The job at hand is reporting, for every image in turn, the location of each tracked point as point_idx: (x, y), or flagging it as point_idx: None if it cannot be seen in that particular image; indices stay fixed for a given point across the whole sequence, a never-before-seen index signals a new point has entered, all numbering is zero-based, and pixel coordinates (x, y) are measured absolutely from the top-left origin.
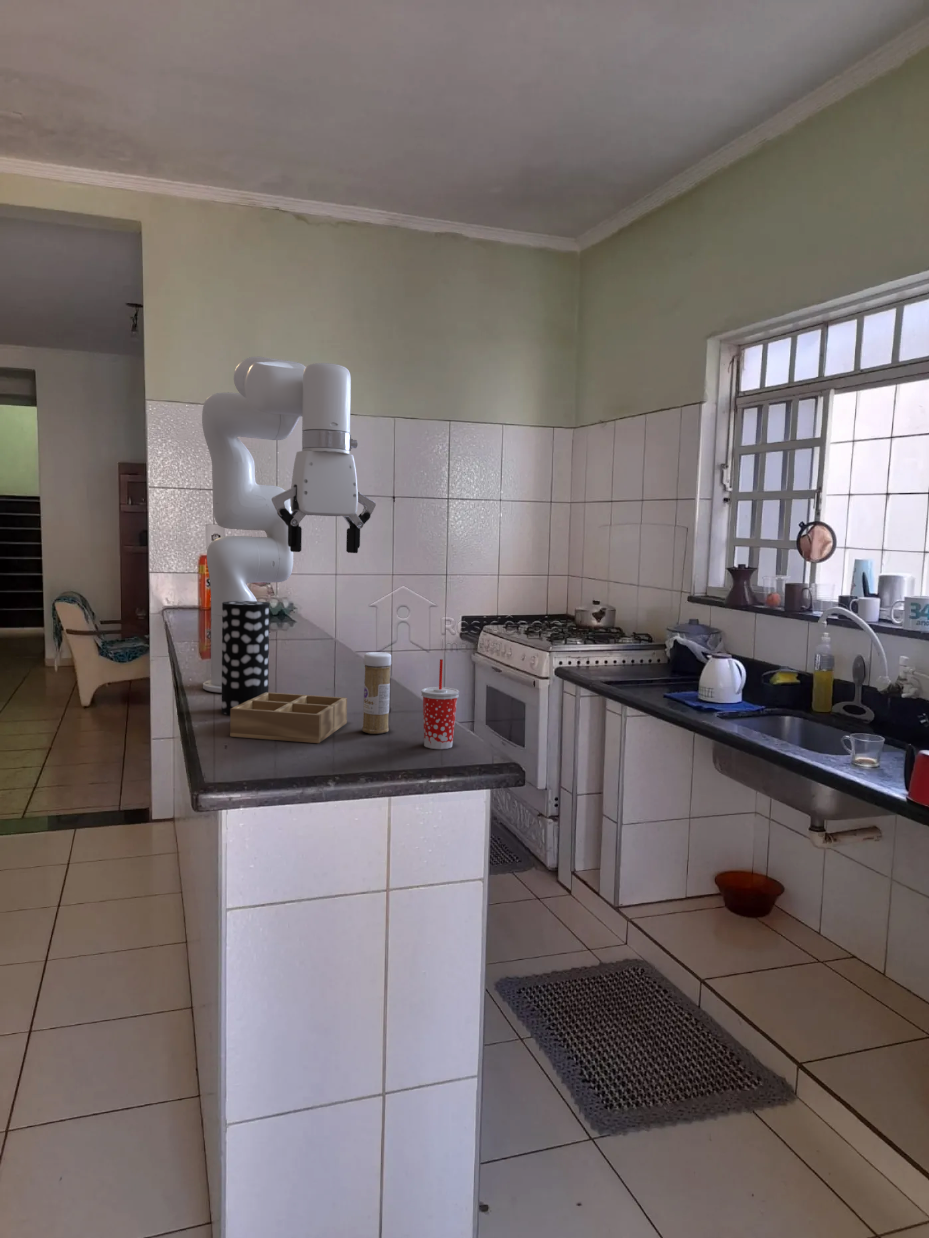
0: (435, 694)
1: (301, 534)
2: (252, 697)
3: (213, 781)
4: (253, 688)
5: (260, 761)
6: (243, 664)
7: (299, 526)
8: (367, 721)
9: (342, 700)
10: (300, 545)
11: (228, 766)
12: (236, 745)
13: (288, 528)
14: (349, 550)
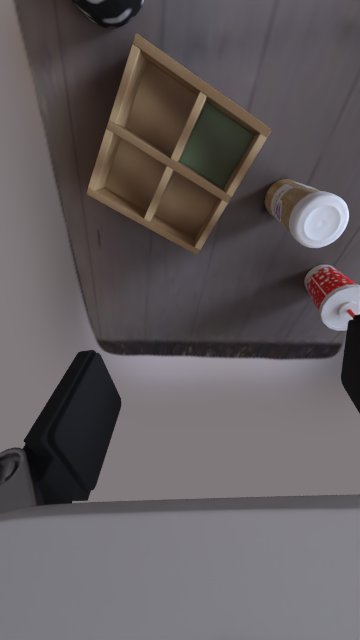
0: (327, 326)
1: (103, 460)
2: (112, 12)
3: (100, 338)
4: (108, 2)
5: (134, 296)
6: None
7: (81, 499)
8: (270, 211)
9: (255, 156)
10: (113, 419)
11: (107, 305)
12: (109, 233)
13: (26, 450)
14: (347, 352)
